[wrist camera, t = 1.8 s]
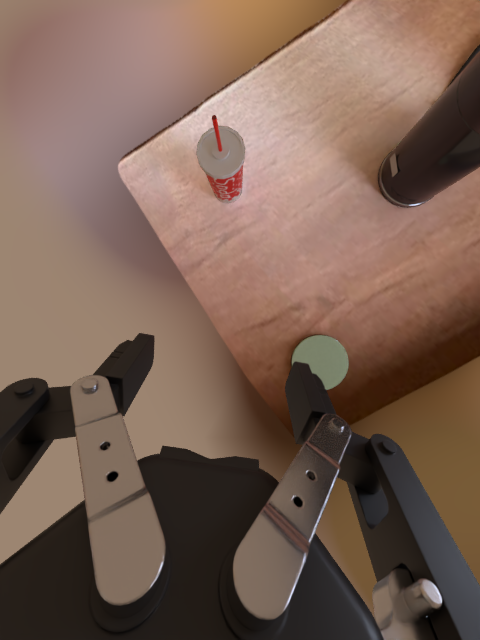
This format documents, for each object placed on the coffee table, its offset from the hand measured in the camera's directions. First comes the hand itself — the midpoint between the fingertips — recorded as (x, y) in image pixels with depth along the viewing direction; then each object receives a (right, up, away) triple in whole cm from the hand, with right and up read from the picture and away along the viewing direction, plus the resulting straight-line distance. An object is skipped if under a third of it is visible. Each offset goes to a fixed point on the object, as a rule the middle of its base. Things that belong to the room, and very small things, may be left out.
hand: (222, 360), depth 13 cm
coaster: (+14, -5, +25) cm, 29 cm away
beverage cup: (-1, +24, +25) cm, 34 cm away
